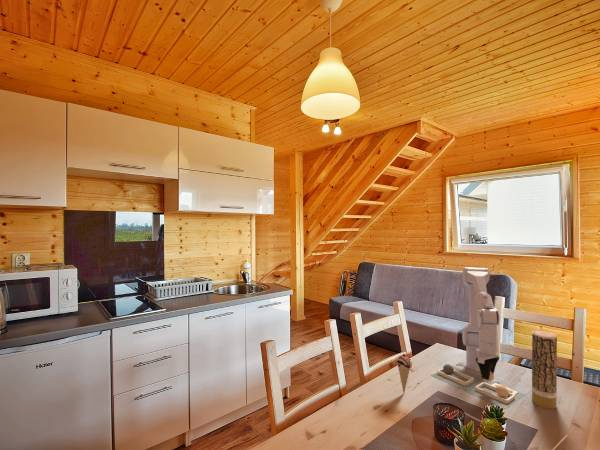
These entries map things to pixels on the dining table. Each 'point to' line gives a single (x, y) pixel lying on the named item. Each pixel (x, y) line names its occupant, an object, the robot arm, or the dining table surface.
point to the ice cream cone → (403, 369)
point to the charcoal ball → (448, 369)
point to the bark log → (544, 369)
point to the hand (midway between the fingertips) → (487, 376)
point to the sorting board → (478, 386)
